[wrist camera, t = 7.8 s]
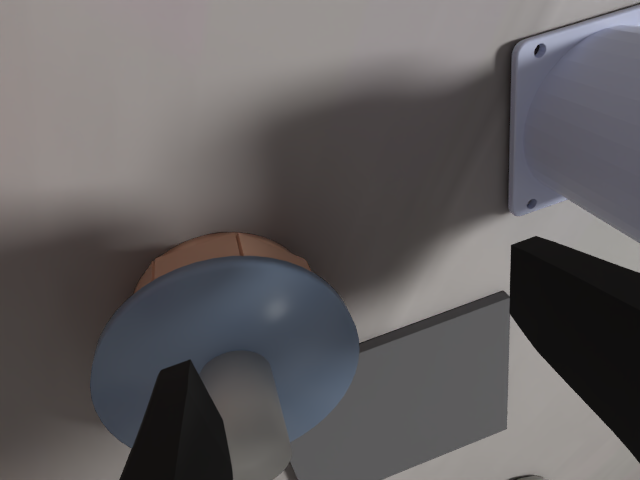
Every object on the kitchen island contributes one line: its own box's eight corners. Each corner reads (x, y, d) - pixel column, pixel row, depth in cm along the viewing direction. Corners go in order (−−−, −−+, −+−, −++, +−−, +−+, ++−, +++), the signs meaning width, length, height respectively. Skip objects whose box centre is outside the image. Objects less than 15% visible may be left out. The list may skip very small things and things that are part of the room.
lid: (369, 247, 18) (422, 323, 14) (338, 426, 22) (371, 518, 19) (72, 266, 15) (41, 367, 11) (111, 467, 20) (98, 582, 16)
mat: (503, 290, 26) (510, 297, 25) (501, 421, 32) (506, 428, 32) (256, 381, 24) (258, 390, 24) (308, 499, 31) (310, 508, 30)
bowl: (288, 204, 20) (309, 246, 17) (327, 338, 24) (348, 389, 21) (94, 267, 19) (82, 322, 16) (172, 395, 23) (172, 455, 20)
